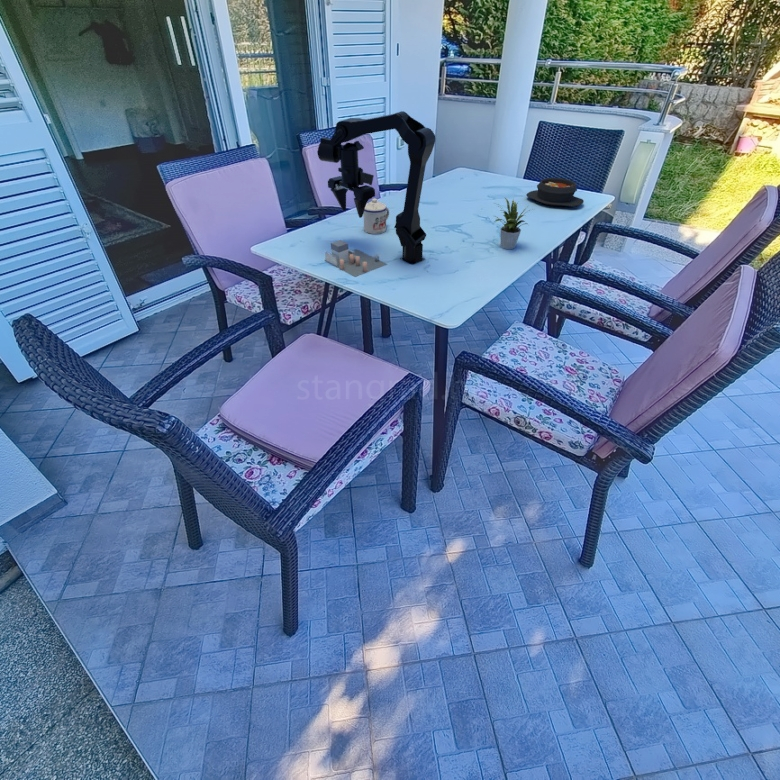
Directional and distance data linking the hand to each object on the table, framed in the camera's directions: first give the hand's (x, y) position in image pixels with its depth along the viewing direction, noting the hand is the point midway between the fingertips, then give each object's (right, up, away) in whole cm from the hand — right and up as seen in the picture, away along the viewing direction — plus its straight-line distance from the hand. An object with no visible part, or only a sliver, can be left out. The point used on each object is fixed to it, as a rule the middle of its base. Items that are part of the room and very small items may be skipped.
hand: (352, 213), depth 153 cm
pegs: (+4, -19, -5) cm, 20 cm away
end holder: (-4, -17, -1) cm, 18 cm away
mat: (+1, -18, -2) cm, 18 cm away
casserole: (+86, +23, +46) cm, 100 cm away
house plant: (+55, -8, +9) cm, 56 cm away
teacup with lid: (+8, +2, +22) cm, 23 cm away
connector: (-4, -17, -2) cm, 17 cm away
